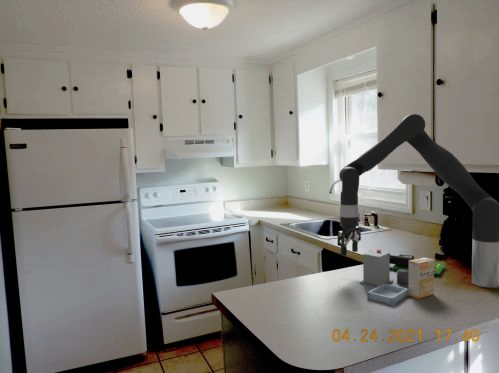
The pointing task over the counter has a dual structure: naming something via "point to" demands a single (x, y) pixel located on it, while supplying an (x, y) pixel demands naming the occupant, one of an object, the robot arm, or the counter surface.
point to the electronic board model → (403, 263)
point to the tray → (387, 294)
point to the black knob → (402, 277)
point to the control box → (376, 268)
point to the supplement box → (421, 277)
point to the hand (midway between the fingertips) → (349, 253)
